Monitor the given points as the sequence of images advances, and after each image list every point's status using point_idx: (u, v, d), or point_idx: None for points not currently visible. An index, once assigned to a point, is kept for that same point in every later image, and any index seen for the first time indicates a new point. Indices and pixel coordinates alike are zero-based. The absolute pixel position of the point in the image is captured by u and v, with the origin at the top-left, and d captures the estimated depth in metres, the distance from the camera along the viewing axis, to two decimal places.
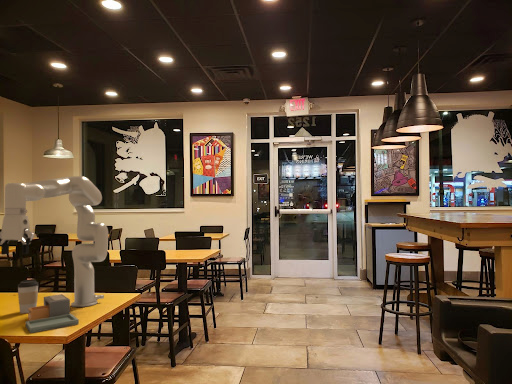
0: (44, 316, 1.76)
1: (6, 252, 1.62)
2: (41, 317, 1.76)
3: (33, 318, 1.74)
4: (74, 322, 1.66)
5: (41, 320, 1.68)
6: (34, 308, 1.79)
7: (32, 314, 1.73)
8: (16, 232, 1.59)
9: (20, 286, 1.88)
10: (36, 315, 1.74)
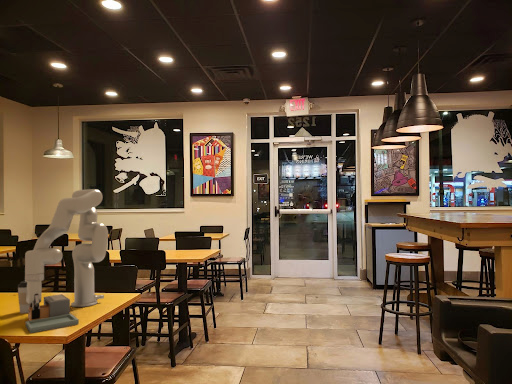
0: (44, 316, 1.76)
1: None
2: (41, 317, 1.75)
3: None
4: (74, 322, 1.66)
5: (41, 320, 1.68)
6: None
7: None
8: None
9: (20, 286, 1.88)
10: None
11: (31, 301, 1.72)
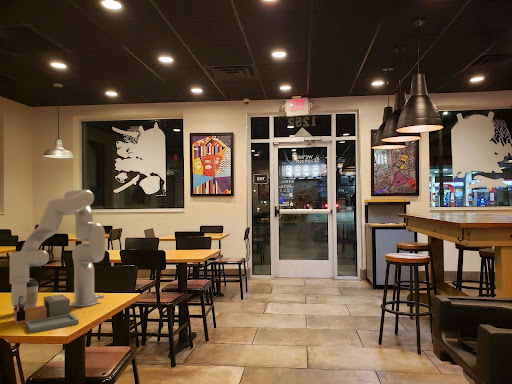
0: (30, 318, 1.73)
1: None
2: (27, 319, 1.72)
3: None
4: (74, 322, 1.66)
5: (41, 320, 1.68)
6: None
7: None
8: None
9: None
10: None
11: (15, 304, 1.69)
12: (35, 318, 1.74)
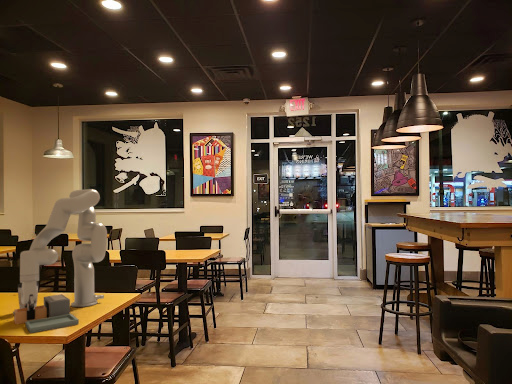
0: None
1: None
2: (26, 319, 1.72)
3: (18, 320, 1.70)
4: (74, 322, 1.66)
5: (41, 320, 1.68)
6: (20, 310, 1.76)
7: (17, 316, 1.70)
8: None
9: (20, 286, 1.88)
10: (21, 317, 1.71)
11: (26, 302, 1.71)
12: (35, 318, 1.74)
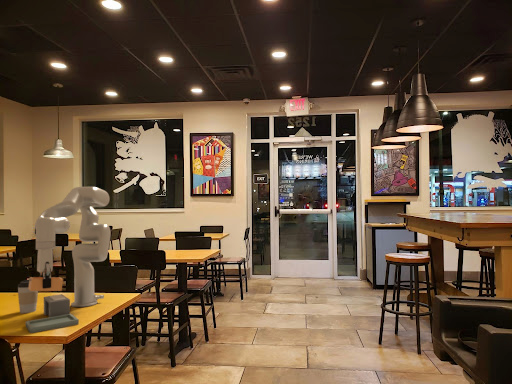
0: None
1: None
2: (41, 287, 1.65)
3: (33, 287, 1.64)
4: (74, 322, 1.66)
5: (41, 320, 1.68)
6: (36, 278, 1.70)
7: (33, 283, 1.64)
8: None
9: (20, 286, 1.88)
10: (37, 284, 1.64)
11: (42, 269, 1.65)
12: None
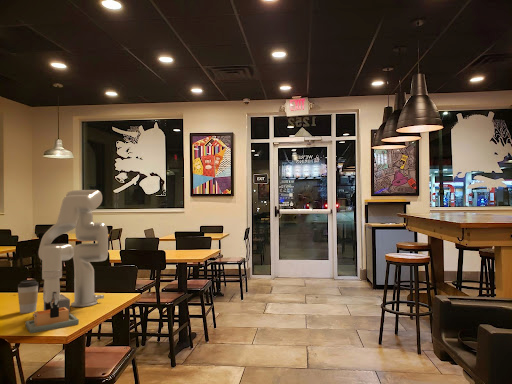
0: (51, 321, 1.63)
1: None
2: (48, 322, 1.62)
3: (39, 323, 1.60)
4: (74, 322, 1.66)
5: None
6: (40, 312, 1.66)
7: (38, 319, 1.60)
8: None
9: (20, 286, 1.88)
10: (43, 320, 1.61)
11: (49, 300, 1.61)
12: (57, 320, 1.64)
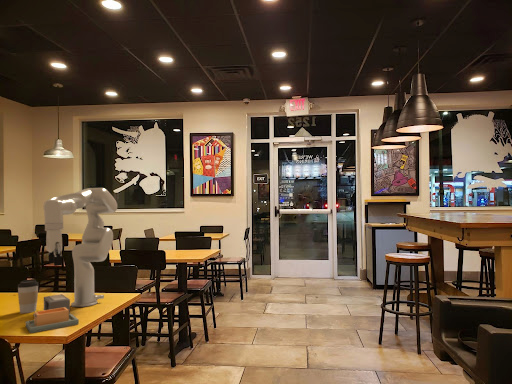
0: (51, 321, 1.63)
1: None
2: (48, 322, 1.62)
3: (39, 323, 1.60)
4: (74, 322, 1.66)
5: None
6: (40, 312, 1.66)
7: (38, 319, 1.60)
8: None
9: (20, 286, 1.88)
10: (43, 320, 1.61)
11: (52, 249, 1.74)
12: (57, 320, 1.64)
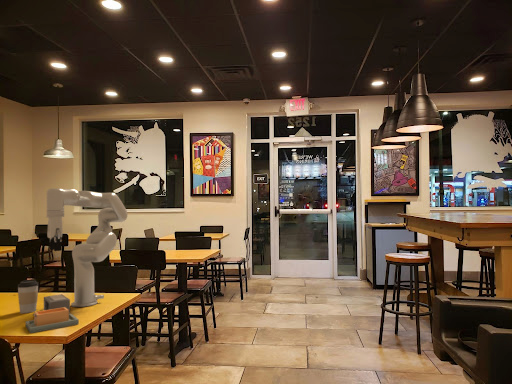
0: (51, 321, 1.63)
1: None
2: (48, 322, 1.62)
3: (39, 323, 1.60)
4: (74, 322, 1.66)
5: None
6: (40, 312, 1.66)
7: (38, 319, 1.60)
8: None
9: (20, 286, 1.88)
10: (43, 320, 1.61)
11: (53, 235, 1.81)
12: (57, 320, 1.64)
